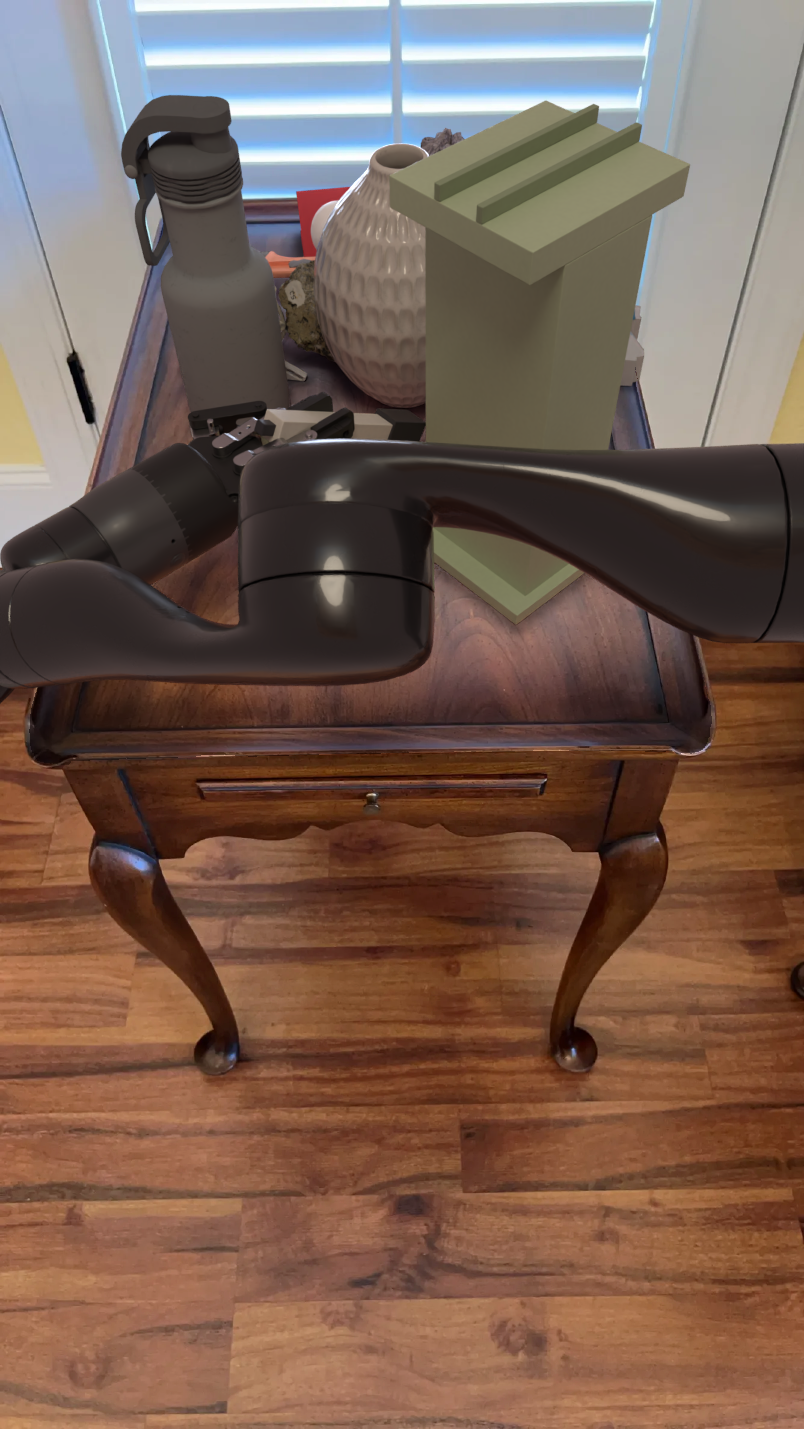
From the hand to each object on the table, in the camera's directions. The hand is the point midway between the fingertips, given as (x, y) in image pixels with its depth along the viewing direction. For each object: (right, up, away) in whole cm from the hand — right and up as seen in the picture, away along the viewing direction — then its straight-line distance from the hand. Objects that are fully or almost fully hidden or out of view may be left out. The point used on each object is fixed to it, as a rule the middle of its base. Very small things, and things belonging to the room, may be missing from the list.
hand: (339, 411), depth 76 cm
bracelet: (-10, +15, +28) cm, 33 cm away
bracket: (-11, +11, +25) cm, 30 cm away
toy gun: (+21, +11, +22) cm, 33 cm away
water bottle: (-11, +6, +21) cm, 25 cm away
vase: (+5, +9, +23) cm, 26 cm away
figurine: (-3, +21, +20) cm, 29 cm away
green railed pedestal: (+14, -8, +10) cm, 19 cm away
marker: (0, -2, +2) cm, 3 cm away
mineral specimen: (+8, +38, +26) cm, 47 cm away
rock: (-1, +14, +26) cm, 30 cm away
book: (0, +26, +35) cm, 44 cm away
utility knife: (-12, +25, +31) cm, 42 cm away
